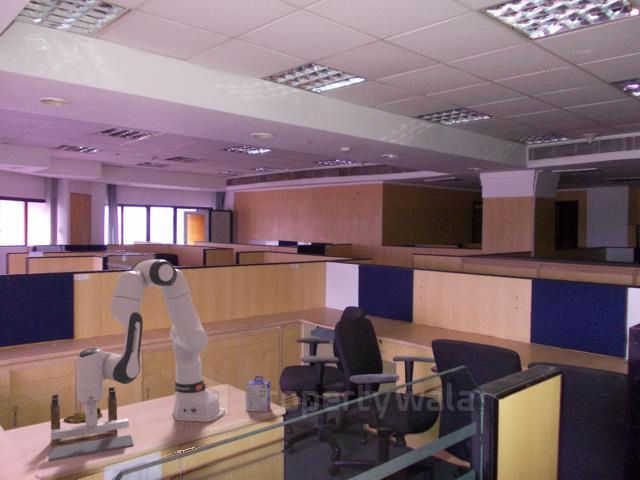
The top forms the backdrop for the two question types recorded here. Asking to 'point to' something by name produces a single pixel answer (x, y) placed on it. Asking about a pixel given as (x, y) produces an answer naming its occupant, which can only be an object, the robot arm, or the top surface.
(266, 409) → the ink cartridge box
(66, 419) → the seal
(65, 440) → the hook stand
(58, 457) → the mat
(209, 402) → the robot arm
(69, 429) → the rail
